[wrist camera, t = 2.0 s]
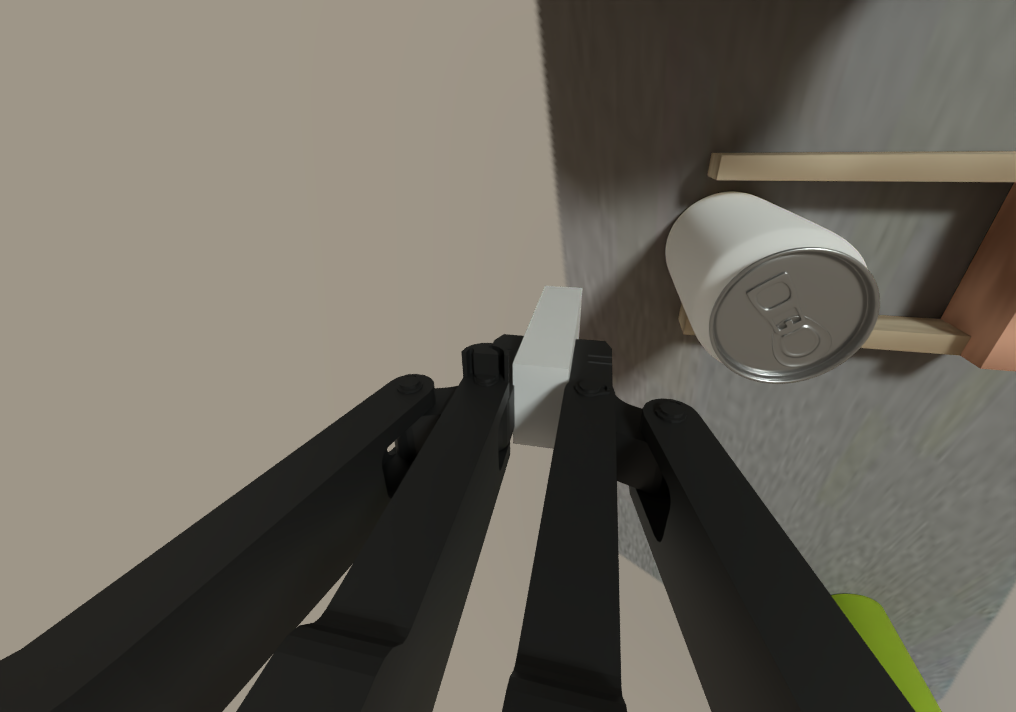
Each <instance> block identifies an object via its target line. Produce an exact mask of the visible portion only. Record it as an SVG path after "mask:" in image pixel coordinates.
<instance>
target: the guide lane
mask: <svg viewBox="0 0 1016 712" xmlns="http://www.w3.org/2000/svg"><path fill="white" fill-rule="evenodd" d="M707 176H709V177H711V178H713V179H715V180H761V181H916V182H1014V184H1013V186H1012V188H1011V189H1010V191H1009V193H1008V195H1007V197H1006V199H1005V201H1004V202H1003V204H1002V206H1001V208H1000V210H999V212H998V214H997V215H996V217H995V219H994V221H993V223H992V225H991V226H990V228H989V230H988V232H987V234H986V236H985V238H984V239H983V241H982V243H981V245H980V247H979V249H978V251H977V252H976V254H975V256H974V258H973V260H972V262H971V263H970V265H969V267H968V269H967V271H966V273H965V275H964V276H963V278H962V280H961V282H960V284H959V286H958V287H957V289H956V291H955V293H954V295H953V297H952V299H951V300H950V302H949V304H948V306H947V308H946V310H945V312H944V313H943V315H942V317H941V319H934V318H918V317H902V316H886V315H878V319H877V322H876V324H875V326H874V329H873V331H872V332H871V334H870V336H869V337H868V339H867V340H866V342H865V343H864V344H863V345H862V346H861V348H869V349H883V350H896V351H909V352H922V353H936V354H949V355H960V356H962V357H963V358H965V359H967V360H968V361H970V362H971V363H973V364H974V365H976V366H977V367H979V368H981V369H994V370H1006V371H1016V151H966V152H787V153H712V154H711V159H710V164H709V169H708V174H707ZM678 320H679V323H680V326H681V329H682V331H683V334H684V335H695V333H694V331H693V328H692V326H691V324H690V321H689V319H688V317H687V314H686V312H685V310H684V307H683V305H682V303H681V307H680V312H679V317H678Z"/></svg>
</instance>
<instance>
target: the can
mask: <svg viewBox="0 0 1016 712" xmlns="http://www.w3.org/2000/svg"><path fill="white" fill-rule="evenodd" d="M665 256H666V263H667V267H668V270H669V273H670V275H671V278H672V280H673V283H674V285H675V288H676V290H677V293H678V295H679V298H680V300H681V302H682V305H683V307H684V310H685V312H686V314H687V317H688V319H689V321H690V324H691V326H692V328H693V331H694V333H695V335H696V337H697V338H698V340H699V342H700V343H701V345H702V346H703V347H704V348H705V350H706V351H707V352H708V353H709V354H710V355H711V356H713V357H714V358H715V359H716V360H718V361H720V362H721V363H723V364H724V365H725V366H726V367H727V368H729V369H730V370H731V371H733V372H734V373H736V374H738V375H740V376H742V377H744V378H747V379H750V380H753V381H757V382H762V383H772V384H783V383H793V382H799V381H804V380H807V379H811V378H814V377H817V376H819V375H822V374H824V373H826V372H828V371H830V370H832V369H834V368H836V367H837V366H839V365H841V364H842V363H844V362H845V361H846V360H848V359H849V358H850V357H851V356H852V355H854V354H855V353H856V352H857V351H858V350H859V349H860V348H861V346H862V345H863V344H864V343H865V342H866V340H867V339H868V337H869V336H870V334H871V332H872V331H873V329H874V326H875V324H876V322H877V319H878V315H879V309H880V294H879V290H878V286H877V283H876V281H875V279H874V277H873V276H872V274H871V273H870V271H869V270H868V269H867V266H866V264H865V261H864V260H863V258H862V256H861V255H860V253H859V252H858V251H857V250H856V249H855V248H854V247H853V246H852V245H851V244H850V243H849V242H847V241H846V240H845V239H843V238H842V237H840V236H839V235H837V234H835V233H833V232H831V231H830V230H828V229H826V228H824V227H822V226H819V225H817V224H815V223H813V222H811V221H809V220H807V219H805V218H803V217H800V216H798V215H796V214H794V213H792V212H790V211H788V210H785V209H783V208H781V207H779V206H777V205H775V204H772V203H770V202H768V201H766V200H764V199H761V198H759V197H757V196H754V195H751V194H748V193H743V192H735V191H730V192H721V193H716V194H713V195H710V196H707V197H705V198H703V199H701V200H699V201H697V202H696V203H694V204H693V205H691V206H690V207H689V208H688V209H686V210H685V211H684V212H683V213H682V214H681V215H680V217H679V218H678V219H677V220H676V222H675V223H674V225H673V227H672V228H671V230H670V233H669V235H668V238H667V242H666V249H665Z"/></svg>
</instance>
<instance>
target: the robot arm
mask: <svg viewBox="0 0 1016 712" xmlns="http://www.w3.org/2000/svg"><path fill="white" fill-rule="evenodd" d="M582 289H583V288H575V287H557V286H545V288H544V290H543V292H542V295H541V297H540V300H539V302H538V304H537V307H536V309H535V312H534V314H533V316H532V319H531V321H530V323H529V326H528V328H527V331H526V333H525V335H524V336H517V335H506V334H504V335H502V336H500V337H499V338H497V339H496V340H495V341H494V342H493V343H480V344H474V345H471V346H469V347H466V348H465V349H464V350H463V351H462V365H463V379H462V381H461V382H460V384H459V386H455V387H448V388H436V389H435V388H434V382H433V380H432V379H431V378H429V377H427V376H425V375H419V374H412V375H411V374H408V375H405V376H401V377H398V378H396V379H394V380H392V381H390V382H389V383H388V384H386V385H385V386H384V387H382V388H381V389H380V390H378V391H377V392H375V393H374V394H373V395H371V396H370V397H368V398H367V399H366V400H365V401H363V402H362V403H360V404H359V405H357V406H356V407H355V408H353V409H352V410H351V411H349V412H348V413H347V414H345V415H344V416H342V417H341V418H339V419H338V420H337V421H335V422H334V423H333V424H331V425H330V426H328V427H327V428H326V429H325V430H323V431H322V432H320V433H319V434H317V435H316V436H315V437H313V438H312V439H311V440H309V441H308V442H306V443H305V444H304V445H302V446H301V447H300V448H298V449H297V450H295V451H294V452H293V453H291V454H290V455H288V456H287V457H286V458H284V459H283V460H282V461H280V462H279V463H277V464H276V465H275V466H273V467H272V468H271V469H269V470H268V471H266V472H265V473H264V474H262V475H261V476H259V477H258V478H257V479H255V480H254V481H253V482H251V483H250V484H248V485H247V486H246V487H244V488H243V489H242V490H240V491H239V492H237V493H236V494H235V495H233V496H232V497H230V498H229V499H228V500H226V501H225V502H224V503H222V504H221V505H219V506H218V507H217V508H216V509H214V510H213V511H211V512H210V513H209V514H207V515H206V516H204V517H203V518H202V519H200V520H199V521H197V522H196V523H195V524H193V525H192V526H191V527H189V528H188V529H186V530H185V531H184V532H182V533H181V534H179V535H178V536H177V537H175V538H174V539H173V540H171V541H170V542H168V543H167V544H166V545H165V546H163V547H162V548H160V549H159V550H157V551H156V552H155V553H153V554H152V555H150V556H149V557H148V558H147V559H145V560H144V561H142V562H141V563H140V564H138V565H137V566H135V567H134V568H133V569H131V570H130V571H129V572H127V573H126V574H124V575H123V576H122V577H120V578H119V579H117V580H116V581H115V582H113V583H112V584H110V585H109V586H108V587H106V588H105V589H104V590H102V591H101V592H100V593H98V594H97V595H95V596H94V597H93V598H91V599H90V600H88V601H87V602H86V603H84V604H83V605H82V606H80V607H79V608H77V609H76V610H75V611H73V612H72V613H70V614H69V615H68V616H66V617H65V618H64V619H62V620H61V621H59V622H58V623H57V624H55V625H54V626H53V627H51V628H50V629H48V630H47V631H46V632H44V633H43V634H42V635H40V636H39V637H37V638H36V639H35V640H33V641H32V642H30V643H29V644H28V645H26V646H25V647H24V648H22V649H21V650H19V651H17V652H15V653H13V654H12V655H10V656H8V657H6V658H4V659H2V660H0V712H222V711H223V710H224V709H225V708H226V707H227V706H228V704H229V703H230V702H231V701H232V700H233V699H234V697H236V695H237V694H238V693H239V692H240V691H241V690H242V689H243V687H244V686H245V685H246V684H247V683H248V682H249V680H251V678H252V677H253V676H254V675H255V674H256V673H257V671H258V670H259V669H260V668H261V667H262V666H263V665H264V664H265V663H266V661H267V660H268V659H269V658H270V657H271V656H272V657H271V659H270V660H269V662H268V663H267V665H266V666H265V668H264V669H263V671H262V673H261V674H260V676H259V677H258V679H257V680H256V682H255V684H254V685H253V687H252V688H251V690H250V691H249V693H248V695H247V696H246V697H245V699H244V701H243V702H242V704H241V705H240V707H239V708H238V710H237V711H236V712H432V711H433V708H434V704H435V701H436V698H437V694H438V691H439V688H440V685H441V681H442V678H443V675H444V671H445V668H446V665H447V661H448V658H449V655H450V651H451V648H452V645H453V642H454V638H455V635H456V631H457V628H458V625H459V622H460V618H461V615H462V612H463V609H464V605H465V602H466V599H467V595H468V592H469V589H470V585H471V582H472V579H473V576H474V572H475V569H476V566H477V562H478V559H479V555H480V552H481V549H482V546H483V543H484V539H485V536H486V533H487V529H488V526H489V523H490V519H491V516H492V513H493V509H494V506H495V503H496V499H497V496H498V493H499V490H500V486H501V483H502V480H503V476H504V473H505V470H506V467H507V463H508V460H509V456H510V439H511V436H512V433H513V443H515V444H522V445H530V446H537V447H545V448H553V449H554V450H553V456H552V462H551V468H550V473H549V478H548V484H547V490H546V495H545V501H544V507H543V512H542V518H541V524H540V530H539V535H538V540H537V546H536V552H535V557H534V563H533V568H532V574H531V580H530V586H529V591H528V597H527V603H526V608H525V614H524V619H523V626H522V630H521V636H520V642H519V648H518V653H517V658H516V663H515V667H514V671H513V672H512V674H511V676H510V679H509V683H508V686H507V690H506V695H505V700H504V705H503V709H502V712H627V708H626V704H625V701H624V699H623V697H622V689H621V658H620V657H621V656H620V655H621V654H620V613H619V611H620V608H619V563H618V562H619V560H618V513H617V481H619V482H621V483H624V484H626V485H629V490H630V495H631V498H632V500H633V503H634V506H635V508H636V511H637V514H638V516H639V519H640V522H641V524H642V527H643V530H644V532H645V535H646V538H647V540H648V543H649V546H650V549H651V551H652V554H653V557H654V559H655V562H656V565H657V567H658V570H659V573H660V575H661V578H662V581H663V583H664V586H665V589H666V591H667V594H668V596H669V599H670V602H671V604H672V607H673V610H674V613H675V615H676V618H677V621H678V623H679V626H680V629H681V631H682V634H683V636H684V639H685V642H686V645H687V647H688V650H689V653H690V655H691V658H692V660H693V663H694V666H695V669H696V671H697V674H698V677H699V680H700V682H701V685H702V688H703V690H704V693H705V696H706V698H707V700H708V704H709V706H710V709H711V711H712V712H916V711H915V710H914V709H913V707H912V706H911V704H910V703H909V702H908V700H907V699H906V698H905V696H904V695H903V694H902V692H901V691H900V689H899V688H898V687H897V685H896V684H895V683H894V681H893V680H892V678H891V677H890V676H889V674H888V673H887V672H886V670H885V669H884V667H883V666H882V665H881V663H880V662H879V661H878V659H877V658H876V657H875V655H874V654H873V652H872V651H871V650H870V648H869V647H868V646H867V644H866V643H865V641H864V640H863V639H862V637H861V636H860V635H859V633H858V632H857V630H856V629H855V628H854V626H853V625H852V624H851V622H850V621H849V619H848V618H847V617H846V615H845V614H844V613H843V611H842V610H841V609H840V607H839V606H838V604H837V603H836V602H835V600H834V599H833V598H832V596H831V595H830V593H829V592H828V591H827V589H826V588H825V587H824V585H823V584H822V582H821V581H820V580H819V578H818V577H817V576H816V574H815V573H814V571H813V570H812V569H811V567H810V566H809V565H808V563H807V562H806V561H805V559H804V558H803V556H802V555H801V554H800V552H799V551H798V550H797V548H796V547H795V545H794V544H793V543H792V541H791V540H790V539H789V537H788V536H787V534H786V533H785V532H784V530H783V529H782V528H781V526H780V525H779V524H778V522H777V521H776V519H775V518H774V517H773V515H772V514H771V513H770V511H769V510H768V508H767V507H766V506H765V504H764V503H763V502H762V500H761V499H760V497H759V496H758V495H757V493H756V492H755V491H754V489H753V488H752V486H751V485H750V484H749V482H748V481H747V480H746V478H745V477H744V476H743V474H742V473H741V471H740V470H739V469H738V467H737V466H736V465H735V463H734V462H733V460H732V459H731V458H730V456H729V455H728V454H727V452H726V451H725V449H724V448H723V447H722V445H721V444H720V443H719V441H718V440H717V439H716V437H715V436H714V434H713V433H712V432H711V430H710V429H709V428H708V426H707V425H706V423H705V422H704V421H703V419H702V418H701V417H700V415H699V414H698V413H697V412H696V411H695V410H694V409H693V408H692V407H690V406H688V405H686V404H685V403H683V402H680V401H676V400H672V399H655V400H651V401H649V402H647V403H646V404H645V405H644V407H643V409H641V408H638V407H635V406H632V405H630V404H627V403H625V402H623V401H622V400H620V399H619V398H618V397H617V396H616V395H615V392H614V389H613V387H612V349H611V347H610V346H609V345H608V344H607V343H606V342H605V341H594V340H582V339H579V328H580V315H581V302H582ZM393 442H395V447H394V448H393V449H392V450H391V451H389V452H388V451H387V448H388V447H389V445H391V444H392V443H393ZM352 564H353V565H352ZM351 565H352V566H351ZM350 566H351V568H350V570H349V572H348V573H347V575H346V576H345V578H344V580H343V582H342V583H341V585H340V587H339V588H338V590H337V592H336V593H335V595H334V597H333V598H332V600H331V602H330V604H329V605H328V607H327V609H326V610H325V611H324V613H323V614H322V616H321V617H320V618H319V619H318V620H317V621H315V622H314V623H310V624H305V625H300V626H298V625H299V624H300V623H301V622H302V621H303V619H304V618H305V617H306V616H307V615H308V614H309V612H310V611H311V610H312V609H313V608H314V607H315V606H316V605H317V604H318V603H319V601H320V600H321V599H322V598H323V597H324V596H325V595H326V593H327V592H328V591H329V590H330V589H331V588H332V587H333V585H334V584H335V583H336V582H337V581H338V580H339V579H340V578H341V576H342V575H343V574H344V573H345V572H346V571H347V570H348V569H349V567H350ZM297 626H298V627H297ZM296 627H297V628H296ZM273 653H274V654H273Z"/></svg>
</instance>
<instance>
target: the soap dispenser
mask: <svg viewBox="0 0 1016 712" xmlns="http://www.w3.org/2000/svg"><path fill="white" fill-rule="evenodd" d="M831 596H832V598H833V599H834V600H835V602H836V603H837V604H838V606H839V607H840V609H841V610H842V611H843V613H844V614H845V615H846V617H847V618H848V619H849V621H850V622H851V624H852V625H853V626H854V628H855V629H856V630H857V632H858V633H859V635H860V636H861V637H862V639H863V640H864V641H865V643H866V644H867V646H868V647H869V648H870V650H871V651H872V652H873V654H874V655H875V657H876V658H877V659H878V661H879V662H880V663H881V665H882V666H883V667H884V669H885V670H886V672H887V673H888V674H889V676H890V677H891V678H892V680H893V681H894V683H895V684H896V685H897V687H898V688H899V689H900V691H901V692H902V694H903V695H904V696H905V698H906V699H907V700H908V702H909V703H910V704H911V706H912V707H913V709H914V710H915V711H916V712H942V711H941V709H940V708H939V706H938V704H937V702H936V701H935V699H934V697H933V695H932V694H931V692H930V690H929V688H928V687H927V685H926V683H925V681H924V680H923V678H922V676H921V674H920V673H919V671H918V669H917V667H916V665H915V664H914V662H913V660H912V658H911V657H910V655H909V653H908V651H907V650H906V648H905V646H904V644H903V643H902V641H901V639H900V637H899V636H898V634H897V632H896V630H895V629H894V627H893V625H892V623H891V622H890V620H889V618H888V616H887V614H886V613H885V611H884V609H883V608H882V606H881V605H880V604H879V603H877V602H876V601H874V600H873V599H870V598H868V597H865V596H861V595H855V594H836V595H831Z"/></svg>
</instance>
